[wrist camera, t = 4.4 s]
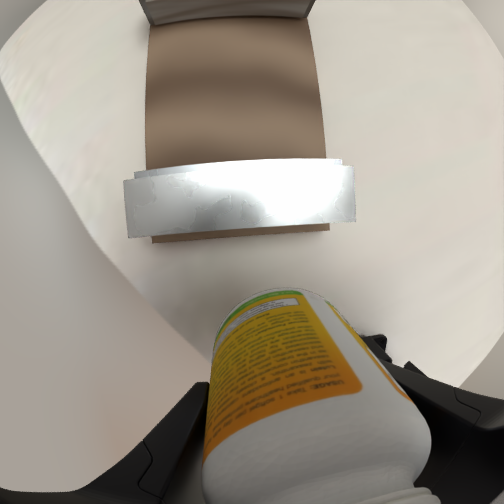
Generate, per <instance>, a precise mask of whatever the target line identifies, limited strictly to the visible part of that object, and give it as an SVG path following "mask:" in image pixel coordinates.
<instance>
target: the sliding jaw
mask: <svg viewBox="0 0 504 504" xmlns="http://www.w3.org/2000/svg"><path fill="white" fill-rule="evenodd" d="M134 177H135V179H131V180H124V181H123V183H124V198H125V210H126V221H127V230H128V238H136V237H146V236H157V235H168V234H179V233H191V232H203V231H215V230H228V229H242V228H256V227H271V226H287V225H304V224H322V223H341V222H356V205H355V181H354V166H342V159H268V160H246V161H230V162H217V163H205V164H195V165H185V166H176V167H168V168H160V169H153V170H146V171H139V172H134Z"/></svg>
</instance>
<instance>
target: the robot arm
mask: <svg viewBox="0 0 504 504" xmlns="http://www.w3.org/2000/svg"><path fill="white" fill-rule="evenodd" d="M361 339H362V340H363V342H364V343H365V344H366V345H367V346H368V348H369V349H370V350H371V351H372V352H373V354H374V355H375V356H376V357H377V359H378V360H379V361H380V362H381V363H382V365H383V366H384V367H385V368H386V369H387V371H388V372H389V373H390V374H391V376H392V377H393V378H394V379H395V381H396V382H397V383H398V384H399V386H400V387H401V388H402V389H403V390H404V391H405V393H406V394H407V395H408V397H409V398H410V399H411V400H412V401H413V403H414V404H415V405H416V407H417V408H418V410H419V412H420V413H421V414H422V416H423V417H424V419H425V420H426V422H427V425H428V427H429V429H430V434H431V450H430V454H429V457H428V460H427V463H426V465H425V467H424V469H423V470H422V472H421V474H420V475H419V476H418V478H417V479H416V480H415V482H414V483H413V485H414V487H415V488H422V487H424V488H428V489H429V490H430V491H431V493H432V495H435V496H437V497H438V498H439V500H440V502H441V504H504V400H502V399H498V398H493V397H488V396H484V395H479V394H476V393H472V392H469V391H466V390H462V389H459V388H457V387H453V386H451V385H448V384H445V383H442V382H439V381H437V380H434V379H431V378H428V377H427V376H426V375H425V374H424V373H423V372H421V371H420V370H419V369H418V368H417V367H416V366H415V365H413V364H412V363H411V362H410V361H408V362H407V363H406V364H405V365H404V368H402V367H399V366H397V365H394V364H393V363H392V359H391V358H390V357H389V356H388V355H387V354H386V353H385V349H386V344H387V338H386V337H385V336H384V335H377V336H372V337H370V336H368V337H363V338H361ZM382 339H383V340H382ZM381 340H382V341H381ZM380 341H381V342H380ZM209 386H210V384H209V383H208V382H197V383H195V384H194V385H193V387H192V388H191V389H190V390H189V391H188V392H187V393H186V394H185V395H184V397H183V398H182V399H181V400H180V401H179V402H178V403H177V404H176V405H175V406H174V408H172V409H171V410H170V412H169V413H168V414H167V415H166V416H165V417H164V418H163V419H162V420H161V421H160V422H159V423H158V424H157V426H155V427H154V428H153V429H152V430H151V432H150V433H149V434H148V435H147V436H146V437H145V438H144V439H143V441H141V442H140V443H139V444H138V445H137V446H136V447H135V448H134V449H133V450H132V451H131V452H129V453H128V454H127V455H126V456H125V457H124V458H123V459H122V460H120V461H119V462H118V463H117V464H115V465H114V466H113V467H112V468H110V469H109V470H107V471H106V472H105V473H103V474H102V475H100V476H99V477H98V478H96V479H95V480H94V481H92V482H91V483H89V484H88V485H86V486H84V487H82V488H80V489H78V490H75V491H70V492H20V491H11V490H7V489H3V488H0V504H206V502H205V500H204V497H203V493H202V485H201V482H202V460H203V450H204V438H205V427H206V416H207V406H208V396H209Z"/></svg>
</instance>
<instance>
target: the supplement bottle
mask: <svg viewBox="0 0 504 504" xmlns="http://www.w3.org/2000/svg"><path fill="white" fill-rule="evenodd" d="M430 450H431V434H430V429H429V427H428V425H427V422H426V420H425V419H424V417H423V416H422V414H421V413H420V412H419V410H418V408H417V407H416V405H415V404H414V403H413V401H412V400H411V399H410V398H409V397H408V395H407V394H406V393H405V391H404V390H403V389H402V388H401V387H400V386H399V384H398V383H397V382H396V381H395V379H394V378H393V377H392V376H391V374H390V373H389V372H388V371H387V369H386V368H385V367H384V366H383V365H382V363H381V362H380V361H379V360H378V359H377V357H376V356H375V355H374V354H373V352H372V351H371V350H370V349H369V348H368V346H367V345H366V344H365V343H364V342H363V340H362V339H361V338H360V337H359V335H358V334H357V333H356V332H355V331H354V330H353V328H352V327H351V326H350V325H349V323H348V322H347V321H346V320H345V319H344V318H343V316H342V315H341V314H340V313H339V312H338V311H337V310H336V309H335V308H334V307H333V306H332V305H331V304H330V303H329V302H328V301H326V300H325V299H324V298H322V297H321V296H319V295H317V294H315V293H312V292H310V291H307V290H303V289H298V288H276V289H270V290H266V291H263V292H260V293H257V294H254V295H252V296H250V297H248V298H247V299H245V300H243V301H242V302H240V303H239V304H238V305H237V306H236V307H234V308H233V309H232V310H231V312H230V313H229V314H228V315H227V316H226V318H225V319H224V321H223V322H222V324H221V326H220V328H219V330H218V332H217V336H216V339H215V344H214V349H213V358H212V367H211V378H210V386H209V396H208V406H207V416H206V427H205V438H204V450H203V460H202V482H201V485H202V493H203V497H204V500H205V502H206V504H441V502H440V500H439V498H438V497H437V496H435V495H432V493H431V491H430V490H429V489H428V488H424V487H422V488H415V487H414V485H413V483H414V482H415V480H416V479H417V478H418V476H419V475H420V474H421V472H422V470H423V469H424V467H425V465H426V463H427V460H428V457H429V454H430Z"/></svg>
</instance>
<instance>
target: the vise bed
mask: <svg viewBox="0 0 504 504" xmlns="http://www.w3.org/2000/svg"><path fill="white" fill-rule="evenodd" d="M139 2H140V4H141V6H142V8H143V10H144V13H145V15H146V17H147V19H148V21H149V23H150V25H151V26H150V35H149V45H148V58H147V73H146V97H145V147H146V170H153V169H160V168H168V167H176V166H185V165H195V164H205V163H217V162H230V161H246V160H268V159H326V149H325V138H324V127H323V118H322V109H321V100H320V92H319V85H318V78H317V71H316V64H315V58H314V52H313V46H312V41H311V35H310V30H309V25H308V20H307V17H308V15H309V12H310V10H311V8H312V6H313V4H314V2H315V0H139ZM327 230H330V226H329V223H322V224H304V225H287V226H271V227H256V228H242V229H228V230H215V231H203V232H191V233H179V234H168V235H157V236H152V243H162V242H174V241H186V240H198V239H211V238H224V237H237V236H251V235H265V234H280V233H295V232H311V231H327Z"/></svg>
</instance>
